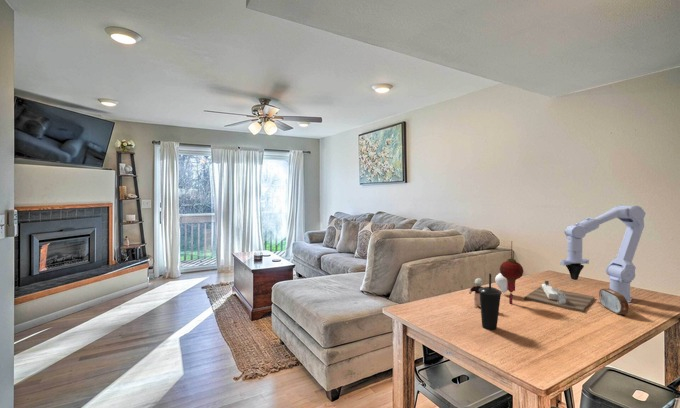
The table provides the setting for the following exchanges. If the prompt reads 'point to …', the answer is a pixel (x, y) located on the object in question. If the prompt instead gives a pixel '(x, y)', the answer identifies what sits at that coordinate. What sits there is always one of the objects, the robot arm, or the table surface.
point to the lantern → (511, 273)
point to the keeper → (560, 296)
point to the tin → (614, 301)
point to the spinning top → (501, 282)
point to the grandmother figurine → (477, 292)
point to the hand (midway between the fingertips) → (574, 279)
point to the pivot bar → (549, 291)
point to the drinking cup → (489, 306)
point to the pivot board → (572, 299)
